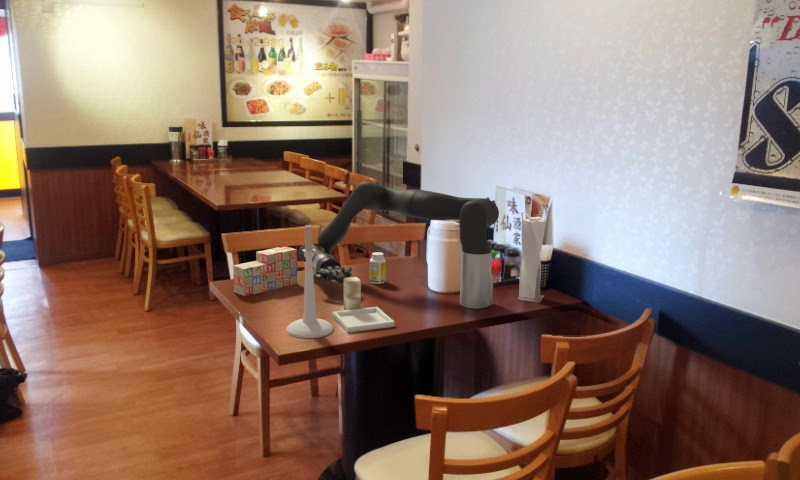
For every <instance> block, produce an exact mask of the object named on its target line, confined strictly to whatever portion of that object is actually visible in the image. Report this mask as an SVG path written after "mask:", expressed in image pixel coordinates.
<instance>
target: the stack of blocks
mask: <svg viewBox="0 0 800 480" xmlns="http://www.w3.org/2000/svg"><path fill="white" fill-rule="evenodd" d="M255 254H256V255H255V257H256V258H255V259H256V260H254V261H248V262H244V263H243V262H242V263H240V264H239V263H238V264H234V265H233V269H232V270H233V277H232V278H233V293H235V294H238V295H241V296H243V297H247V296H252V295H255V294H260V293H265V292H268V291H272V290H276V289H279V288H285V287H288V286H294V285H297V284H298V250H297V248H293V247H290V246H280V247H278V246H277V247H273V248H268V249H264V250H259V251H256V252H255Z"/></svg>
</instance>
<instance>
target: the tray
mask: <svg viewBox="0 0 800 480" xmlns="http://www.w3.org/2000/svg"><path fill="white" fill-rule="evenodd" d="M332 318H333V319H334V320H335V321H336V323H338V324H339V325H340V327H342V328H343V329H344V331H346V333H355V332H363V331H371V330H378V329H379V330H380V329H387V328H395V326H396V325H395V324H396V323H395V320H393V318H391V317H390V316H388V314H386V313H385V312H384V311H383V310H382V309H380V307H378V306H372V307H364V308H363V307H362V308H361V309H352V310H344V309H343V310H336V311H332Z"/></svg>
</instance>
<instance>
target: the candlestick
mask: <svg viewBox="0 0 800 480" xmlns="http://www.w3.org/2000/svg"><path fill="white" fill-rule="evenodd" d="M304 243H305V249H303V250H302V251H303V252H304V257H306V262H304V264H305V266H304V268H305V269H304V292H303V317H302V318H299V319H296V320H294V321H292V322H291V323H289V324H288V326H287V327H286V333H287V335H290V336H292V337H295V338H299V339H316V338H322V337H326V336H328V335H330V334H331V333H333V331H334V326H333V324H332V323H331V322H329V321H327V320H325V319H323V318H317V309H316V297H315V296H316V295H315V281H314V280H315V279H314V277H315V276H314V269H313V263H312V257H313V256H314V251H315V249H313V246H312V243H313V226H312V225H311V224H307V225H304Z"/></svg>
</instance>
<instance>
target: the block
mask: <svg viewBox="0 0 800 480" xmlns="http://www.w3.org/2000/svg"><path fill="white" fill-rule="evenodd" d="M361 285H362V282H361V279H360V278H359V277H357V276H353V277H352V276H351V277H349V278H344V283H343V311H344V310H352V309H361V307H362V306H361V304H362V303H361V302H362V301H361V299H362V298H361V297H362V296H361V295H362V294H361V293H362V292H361V291H362V289H361V287H362V286H361Z"/></svg>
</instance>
